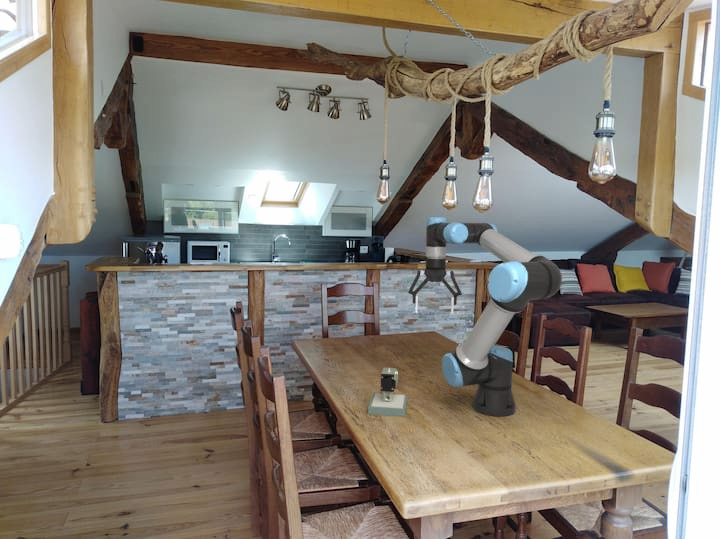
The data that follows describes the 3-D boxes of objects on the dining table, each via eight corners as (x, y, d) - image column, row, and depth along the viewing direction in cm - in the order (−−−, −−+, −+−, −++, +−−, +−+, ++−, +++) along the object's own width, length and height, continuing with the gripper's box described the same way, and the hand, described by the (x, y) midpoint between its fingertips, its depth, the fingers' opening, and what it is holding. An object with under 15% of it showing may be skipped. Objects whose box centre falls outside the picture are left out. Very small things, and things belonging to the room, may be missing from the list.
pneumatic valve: (379, 405, 182) (380, 372, 181) (384, 394, 193) (384, 362, 192) (395, 406, 181) (396, 373, 180) (398, 395, 192) (399, 363, 191)
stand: (407, 401, 194) (407, 394, 194) (405, 416, 179) (405, 408, 179) (373, 399, 196) (373, 392, 195) (368, 414, 181) (368, 406, 181)
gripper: (467, 257, 199) (466, 311, 201) (403, 256, 202) (401, 309, 204) (470, 259, 192) (468, 315, 194) (402, 257, 194) (401, 313, 196)
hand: (434, 312), depth 199 cm, fingers open, 13 cm apart
